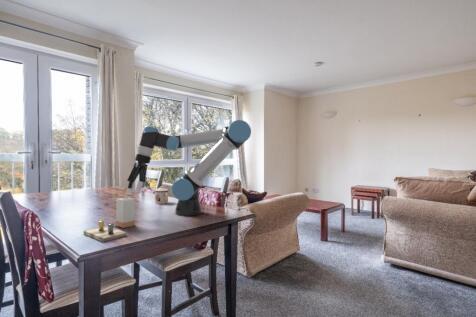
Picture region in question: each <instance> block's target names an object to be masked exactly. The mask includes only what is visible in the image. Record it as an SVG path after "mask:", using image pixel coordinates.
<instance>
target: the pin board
mask: <svg viewBox="0 0 476 317" xmlns="http://www.w3.org/2000/svg"><path fill="white" fill-rule="evenodd" d="M83 235H85V236H88V237H90V238H93V239H95V240H97V241H99V242H102V243H105V242H109V241H112V240H116V239H119V238H124V237H127V231H125V230H124V231H123V230H121V229H117V228H114V227H113V234H108V225H104V230H103V231H99V227H94V228H90V229H85V230H84V231H83Z"/></svg>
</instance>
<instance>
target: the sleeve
mask: <svg viewBox="0 0 476 317" xmlns="http://www.w3.org/2000/svg"><path fill="white" fill-rule="evenodd" d="M115 202H116V203H115V204H116V206H115V208H116V210H115V212H116V215H115V216H116V217H115V221H116V223H115V225H116V227H119V228H122V229H125V228H128V227H134V226H135V224H136V198H135V197H129V196H128V197H122V198H121V197H119V198H116V200H115Z"/></svg>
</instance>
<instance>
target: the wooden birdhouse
mask: <svg viewBox="0 0 476 317" xmlns="http://www.w3.org/2000/svg"><path fill="white" fill-rule="evenodd" d="M154 202H155V204H157V205H165V203H166V204H168V203H169V189H168V188H165V187H164V186H162V185H161V186H160V187H157V188H156V189H155V190H154Z"/></svg>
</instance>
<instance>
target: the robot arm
mask: <svg viewBox="0 0 476 317" xmlns="http://www.w3.org/2000/svg"><path fill="white" fill-rule="evenodd" d="M251 136H252V128H251V126H250V124H249V123H248V122H247V121H245V120H243V119H236V120H234V121H232V122H231V123H230V124H229V126H224V127H223V128H221V129H219V128H218V129H214V130H207V131H201V132H199V131H198V132H195V133H194V132H193V133H187V134H186V133H185V134H179V135H169V134H167V133H166V134H164V133H161V132H160V131H159V129H158V128H157V127H154V126H150V125H145V126H144V128H143V131H142V134H141V136H140V142H139V146H137V153H136V156H135V159H134V160H135V161H137V162H135V163H134V165H133V168H132V169H131V171H130V174H129V175H128V178H127V182H128V183H127V187H126V190H125V195H128V196H132V195H133V194H132V193H133V190H134V186H135V184H136V183H135V182H136V180H137V178H138V181H137V184H136V188H135V192H134V193H136V194H141V192H142V189H143V185H144V183H145V182H146V180H147V179H146V177H147V172H148V171H147V169H148V164H150V163H151V159H152V156H153V153H154V148H155V147H158V148H161V149H164V150H168V151H172V152H176V151H177V150H178V149H183V148H184V149H185V148H191V147H197V146H198V147H199V146H206V145H212V144H215V145H214V146H212V148H211V149H210V150H209V151H208V152H207V153H206V154H205V155H204V156H203V157H202V158H201V159H200V160H199V161H198V162H197V163H196V164H195V165H194V166H193V167H192V168H191V169H190V170H186V171H185V172H184V173H180V174H179V175H178V178H177V179H175V180H174V182H173V183H172V185H171V194H172V195H173V197H174V198H175V199H176V200H178V201H177V204H176V207H175V211H174V212H175V213H174V214H175V215H177V216H184V217H186V216H199V215H200V214H202V206H201V203H200V200H199V198H200V197H199V196H200V190H199V189H200V188H201V187H202V186H203V181H205V179H206V178H208V176H209V175H210V174H211V173H212V172H213V171H214V170H215V169H216V168H217V167H218V166H219V165H220V164H221V163H222V162H223V161H224V160H225V159H226V158H227V157H228V156H229V155H230V153H232V152H233V151H234V150H238V149H240V147H242V145H244V144H245V143H246V141H248V140H249V138H251Z"/></svg>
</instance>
